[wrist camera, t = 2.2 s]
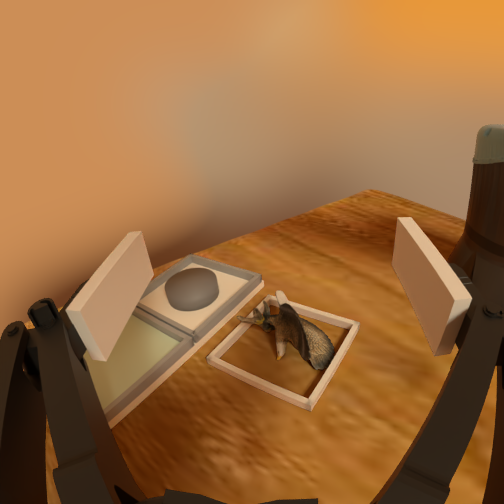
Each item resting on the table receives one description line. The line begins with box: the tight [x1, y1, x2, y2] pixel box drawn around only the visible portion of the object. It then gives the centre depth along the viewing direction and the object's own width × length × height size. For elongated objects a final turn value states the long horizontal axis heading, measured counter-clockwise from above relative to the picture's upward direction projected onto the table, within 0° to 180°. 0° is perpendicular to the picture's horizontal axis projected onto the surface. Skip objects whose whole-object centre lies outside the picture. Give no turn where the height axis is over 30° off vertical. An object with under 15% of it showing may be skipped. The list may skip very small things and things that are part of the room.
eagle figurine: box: [237, 290, 335, 370], centre depth 31 cm, size 8×7×9 cm
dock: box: [83, 254, 264, 429], centre depth 37 cm, size 27×13×3 cm, turn 145°
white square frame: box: [206, 295, 360, 411], centre depth 33 cm, size 12×12×1 cm
